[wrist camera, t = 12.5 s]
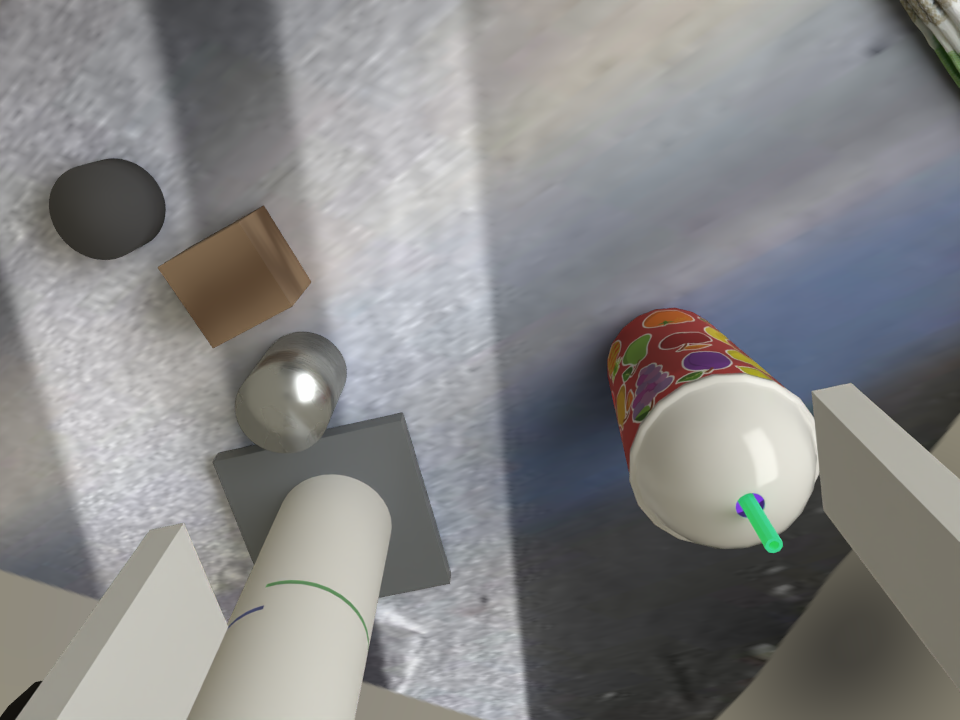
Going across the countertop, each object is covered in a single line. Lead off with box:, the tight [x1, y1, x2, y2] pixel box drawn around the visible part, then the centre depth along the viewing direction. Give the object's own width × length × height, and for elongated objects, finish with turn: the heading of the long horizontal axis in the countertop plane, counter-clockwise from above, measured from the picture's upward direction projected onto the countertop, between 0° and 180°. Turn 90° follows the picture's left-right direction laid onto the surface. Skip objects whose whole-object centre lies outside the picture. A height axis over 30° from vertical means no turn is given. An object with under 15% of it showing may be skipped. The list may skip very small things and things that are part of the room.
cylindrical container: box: [187, 474, 392, 720], centre depth 39 cm, size 7×7×25 cm
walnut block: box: [158, 206, 311, 348], centre depth 44 cm, size 5×5×5 cm
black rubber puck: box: [49, 159, 166, 260], centre depth 44 cm, size 5×5×3 cm
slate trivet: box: [213, 413, 451, 598], centre depth 51 cm, size 12×12×1 cm
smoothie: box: [607, 308, 819, 553], centre depth 38 cm, size 8×8×20 cm
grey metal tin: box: [235, 332, 347, 453], centre depth 46 cm, size 5×5×6 cm
